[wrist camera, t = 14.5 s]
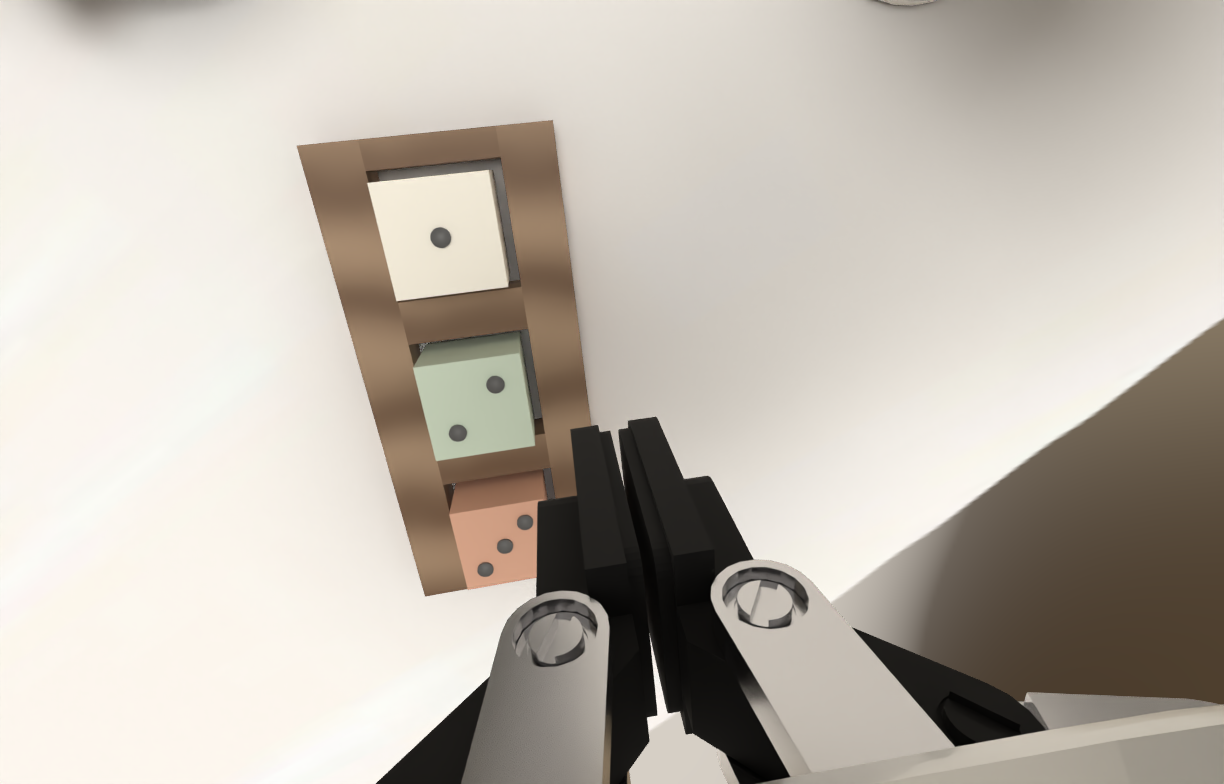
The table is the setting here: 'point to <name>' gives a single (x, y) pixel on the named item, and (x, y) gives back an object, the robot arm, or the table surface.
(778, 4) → the table surface
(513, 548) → the tile three pip
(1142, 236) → the table surface
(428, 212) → the tile one pip
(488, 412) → the tile two pip
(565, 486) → the tray
